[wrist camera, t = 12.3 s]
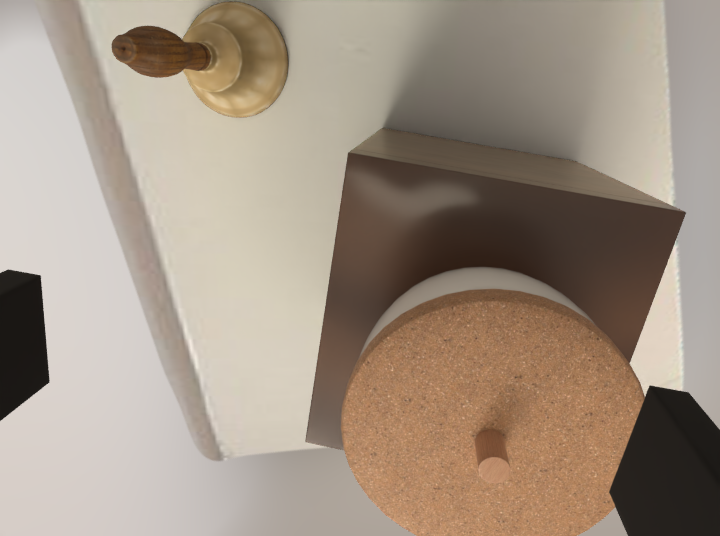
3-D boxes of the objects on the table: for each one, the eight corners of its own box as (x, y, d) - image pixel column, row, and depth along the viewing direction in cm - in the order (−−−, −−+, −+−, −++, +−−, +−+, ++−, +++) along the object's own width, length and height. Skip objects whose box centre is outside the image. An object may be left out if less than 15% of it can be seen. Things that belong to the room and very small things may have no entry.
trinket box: (634, 301, 24) (750, 421, 15) (511, 466, 28) (549, 639, 19) (427, 196, 24) (425, 257, 15) (330, 377, 28) (283, 511, 19)
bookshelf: (382, 127, 41) (348, 152, 24) (576, 161, 40) (686, 212, 23) (350, 313, 46) (305, 442, 29) (522, 347, 45) (578, 501, 28)
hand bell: (307, 85, 40) (235, 81, 25) (219, 135, 42) (104, 158, 27) (253, -21, 38) (141, -94, 23) (164, 37, 41) (8, 3, 26)
